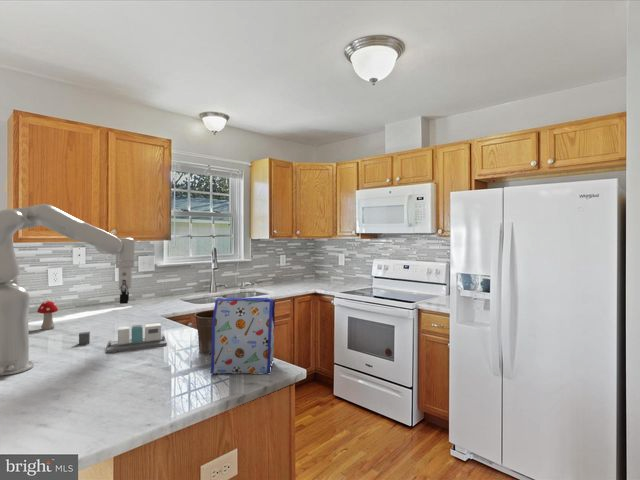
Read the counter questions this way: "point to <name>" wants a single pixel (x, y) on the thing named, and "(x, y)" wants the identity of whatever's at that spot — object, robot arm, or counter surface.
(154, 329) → the block
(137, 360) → the counter surface
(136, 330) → the teal module
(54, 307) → the decorative mushroom
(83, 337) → the grey rectangular block
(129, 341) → the metal rail
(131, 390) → the counter surface
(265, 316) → the lunch bag
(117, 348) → the board
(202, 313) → the plant pot
